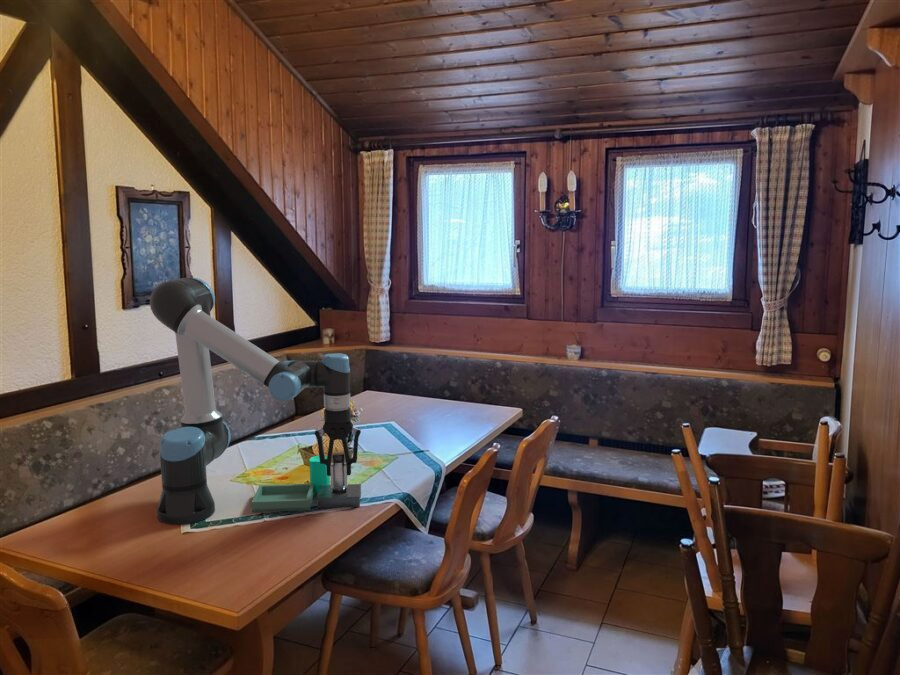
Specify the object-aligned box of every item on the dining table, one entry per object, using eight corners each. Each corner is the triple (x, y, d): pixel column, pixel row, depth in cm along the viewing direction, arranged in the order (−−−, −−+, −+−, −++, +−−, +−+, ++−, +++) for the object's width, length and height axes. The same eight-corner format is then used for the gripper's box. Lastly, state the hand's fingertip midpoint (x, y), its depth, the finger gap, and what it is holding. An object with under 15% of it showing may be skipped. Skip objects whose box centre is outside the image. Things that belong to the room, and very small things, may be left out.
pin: (333, 502, 209) (332, 456, 207) (334, 498, 212) (333, 453, 210) (344, 502, 209) (343, 456, 207) (345, 498, 212) (344, 452, 210)
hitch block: (317, 508, 205) (317, 498, 205) (320, 494, 215) (320, 485, 215) (359, 506, 206) (359, 496, 206) (360, 493, 216) (360, 484, 216)
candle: (326, 496, 215) (325, 457, 213) (307, 494, 216) (306, 456, 214) (333, 488, 221) (332, 451, 219) (314, 487, 222) (313, 449, 220)
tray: (251, 512, 202) (251, 502, 202) (260, 494, 215) (259, 485, 214) (309, 510, 204) (309, 500, 203) (314, 493, 216) (313, 483, 216)
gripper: (307, 411, 202) (309, 491, 205) (365, 410, 203) (366, 489, 207) (310, 405, 209) (312, 482, 213) (366, 403, 210) (367, 480, 214)
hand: (339, 485), depth 210 cm, fingers closed on pin, 3 cm apart
